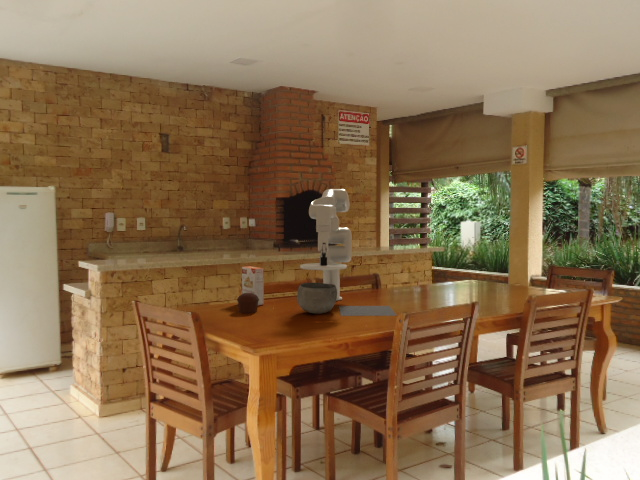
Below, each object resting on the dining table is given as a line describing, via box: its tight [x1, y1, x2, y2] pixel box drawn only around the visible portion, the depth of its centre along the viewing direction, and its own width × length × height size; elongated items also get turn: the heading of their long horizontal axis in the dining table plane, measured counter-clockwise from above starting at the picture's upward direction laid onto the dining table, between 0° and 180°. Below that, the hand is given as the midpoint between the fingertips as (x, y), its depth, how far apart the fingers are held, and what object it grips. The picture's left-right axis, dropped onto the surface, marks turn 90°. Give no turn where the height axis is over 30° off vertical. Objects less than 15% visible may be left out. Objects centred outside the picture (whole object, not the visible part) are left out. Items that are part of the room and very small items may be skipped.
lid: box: [299, 254, 348, 271], centre depth 305 cm, size 24×24×6 cm
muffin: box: [236, 293, 259, 315], centre depth 310 cm, size 12×11×10 cm
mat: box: [338, 305, 398, 317], centre depth 311 cm, size 28×28×1 cm
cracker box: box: [241, 265, 265, 307], centre depth 334 cm, size 14×6×21 cm, turn 40°
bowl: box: [296, 282, 337, 315], centre depth 306 cm, size 20×20×15 cm
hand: (323, 264), depth 305 cm, fingers closed on lid, 4 cm apart
